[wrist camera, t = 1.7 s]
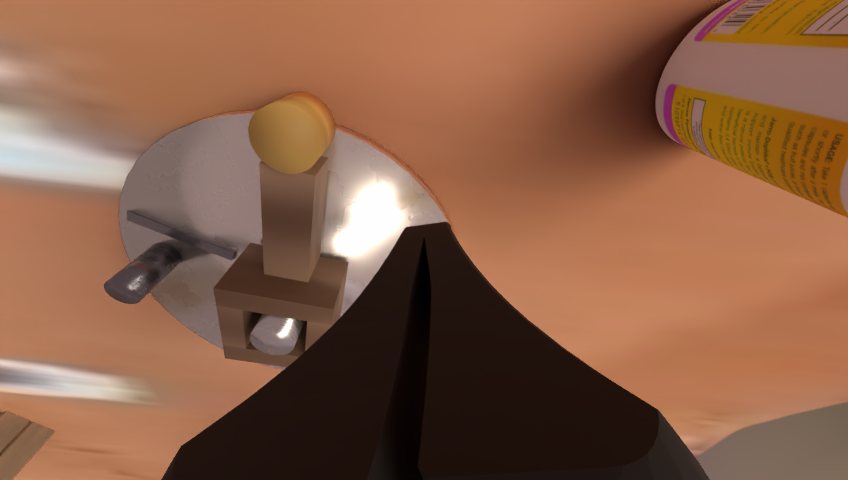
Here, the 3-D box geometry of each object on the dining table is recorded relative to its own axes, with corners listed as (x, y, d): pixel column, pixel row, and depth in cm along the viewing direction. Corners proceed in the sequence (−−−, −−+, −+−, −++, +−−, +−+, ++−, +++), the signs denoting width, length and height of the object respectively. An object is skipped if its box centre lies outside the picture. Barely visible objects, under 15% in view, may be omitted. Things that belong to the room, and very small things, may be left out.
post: (321, 288, 23) (293, 358, 18) (288, 281, 23) (250, 351, 18) (324, 263, 22) (294, 332, 17) (288, 256, 21) (248, 324, 16)
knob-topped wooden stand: (339, 323, 23) (324, 372, 20) (254, 309, 22) (225, 358, 19) (372, 110, 15) (357, 135, 11) (238, 74, 14) (178, 88, 10)
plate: (417, 379, 30) (417, 391, 29) (169, 342, 27) (160, 353, 26) (510, 168, 18) (515, 175, 17) (77, 54, 14) (53, 56, 14)
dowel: (184, 267, 20) (144, 306, 18) (154, 261, 20) (109, 300, 17) (179, 245, 20) (136, 283, 17) (148, 239, 19) (99, 277, 16)
